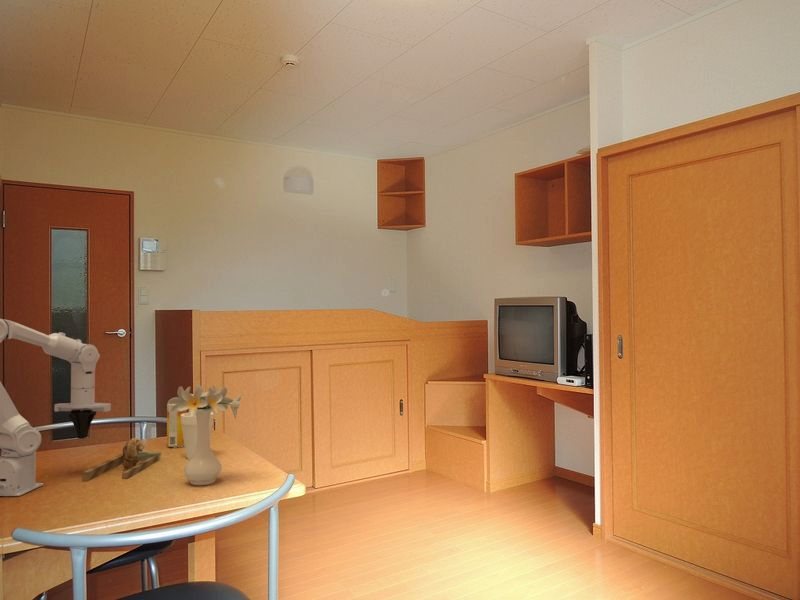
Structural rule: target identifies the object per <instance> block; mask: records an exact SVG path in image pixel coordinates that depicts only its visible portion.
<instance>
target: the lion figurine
mask: <svg viewBox="0 0 800 600" xmlns="http://www.w3.org/2000/svg"><path fill="white" fill-rule="evenodd" d="M145 447H146V446H145V445H144V444H142V443H141V442H140V441H139V438H137V437H133V438H130V439H129V440H127V442H126V443H125V444H124V446H123V447H122V453H123V456H124V458H123V461H124V463H122V466H123V469H122V470H123V471H126V470H128V469H129V466H128V462H129V461H128V460H133V461H132V467H134V466H136V465H137V464H138V463H137V462H139V461H138V460H137V455H138V453H139V452H142V451H144V449H145ZM132 467H131V468H132Z"/></svg>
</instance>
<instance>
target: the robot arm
mask: <svg viewBox="0 0 800 600" xmlns="http://www.w3.org/2000/svg"><path fill="white" fill-rule="evenodd" d="M12 339H15V340H17V341H18V340H19V341H21V342H25V343H29V344H31V345H35V346H38V347H42V348H41V349H42V350H43V352H44V353H45V354H46V355H49V356H53V357H56V358H59V359H62V360H65V361H67V362H68V363H69V364H70V402H66V403H65V402H64V403H61V402H60V403H55V404H54V409H53V410H54V412H70V413H68V418H69V419H70V421H71V423H72V424H73V426H74V429H75V432H76V436H77V439H82V440H83V439H86V438H87V437H88V434H89V429H90V427H91V425H92V422H93V420H94V419H95V416H96V415H97V412H104V413H106V412H107V413H108V412H111V411H112V410H111V409H112V408H111V407H112V404H111V403H110V402H109V403H107V402H106V403H104V402H103V403H102V402H95V399H96V395H95V394H96V393H95V390H96V387H95V386H96V367H97V366H96V365H97V363H98V361H99V359H100V356H101V354H100V353H99V350H98V348H97V347H96V346H95V345H94V344H90V343H83V342H82V339H80V338H79V339H78V338H76V339H74V338H71V337H68V336H66V333H65V332H58V333H57V332H53V333H51V334H46V333H44V332H40V331H38V330H37V329H36V330H35V329H34V328H30V327H28V326H26V325H23V324H20V323H18V322H15V321H14V320H13V321H12V320H9V319H2V318H0V344H1V343H2V342H3V341H4V340H12ZM41 443H42V435H41V432H40V431H39V430H37V429H36V428H34V427H32V426H31V424H30V421H28V420H26V419H25V418H24V417H23V416H22V415H21V414H20V413H19V411H18V409H17V408H16V406H15V404H14V402H13V401H12V399H11V397H10V395H9V393H8V392H7V390H6V388H5V387H4V385H3V384H2V381H1V380H0V449H1V452H0V454H1V456H0V497H20V496H22V495H24V494H27V493H29V492H31V491H33V490H36V489H38V488H39V487H42V486H44V483H43V482H36V475H37V473H36V472H37V469H36V468H37V467H36V466H37V463H36V461H37V460H36V459H37V456H36V455H37V450H38V449H39V447H40V445H41Z"/></svg>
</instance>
